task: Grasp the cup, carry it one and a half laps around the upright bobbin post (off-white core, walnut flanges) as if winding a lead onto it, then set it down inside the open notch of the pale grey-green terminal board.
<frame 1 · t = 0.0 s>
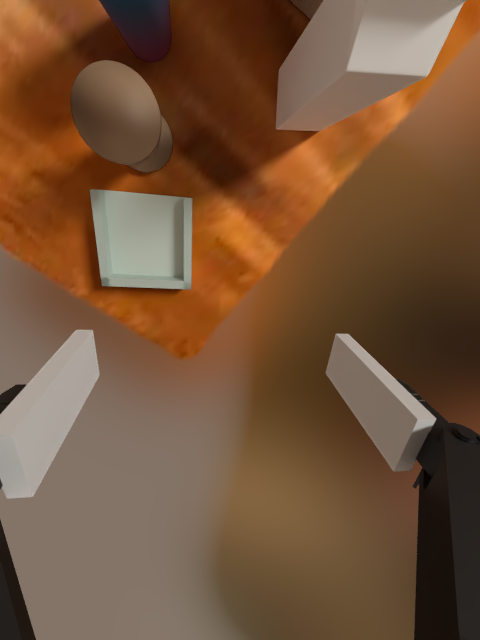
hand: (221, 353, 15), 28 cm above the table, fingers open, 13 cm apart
milk: (299, 102, 34), on the table
notch board: (148, 240, 38), on the table
cup: (147, 33, 30), on the table
bobbin: (143, 139, 34), on the table
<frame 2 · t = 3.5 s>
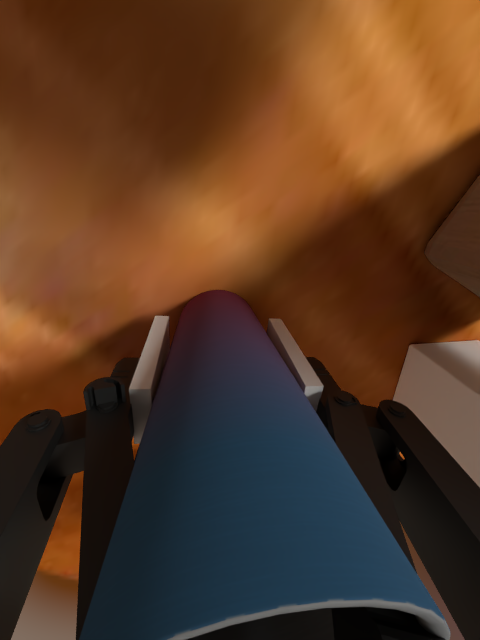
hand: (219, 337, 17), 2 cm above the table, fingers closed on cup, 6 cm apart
milk: (430, 371, 23), on the table
cup: (217, 324, 18), on the table, touching gripper
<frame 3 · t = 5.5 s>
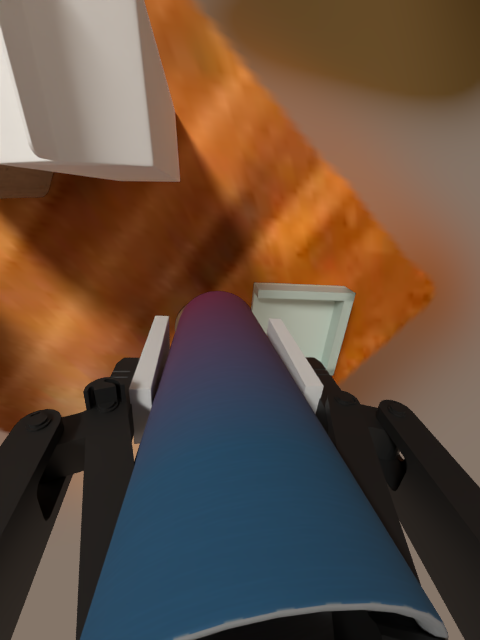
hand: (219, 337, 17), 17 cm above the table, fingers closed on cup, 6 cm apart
milk: (146, 147, 27), on the table
wooden block: (5, 117, 24), on the table
notch board: (292, 326, 37), on the table
cup: (217, 325, 18), point 15 cm above the table, touching gripper
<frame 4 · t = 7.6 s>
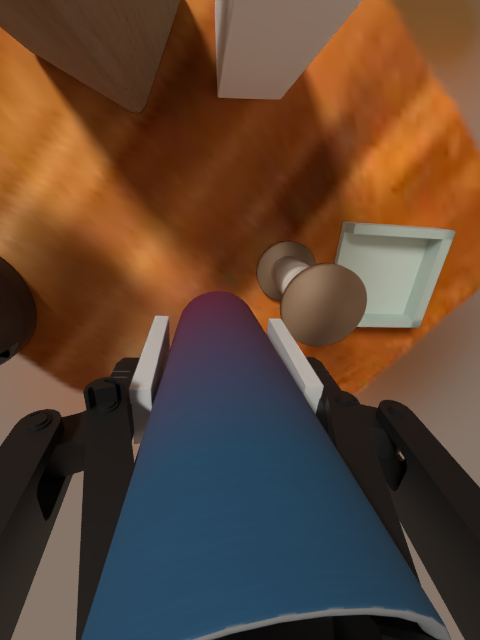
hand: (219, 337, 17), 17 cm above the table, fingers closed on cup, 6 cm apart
milk: (249, 58, 24), on the table
wooden block: (105, 20, 22), on the table
notch board: (376, 274, 35), on the table
cup: (217, 325, 18), point 15 cm above the table, touching gripper
bobbin: (285, 270, 33), on the table
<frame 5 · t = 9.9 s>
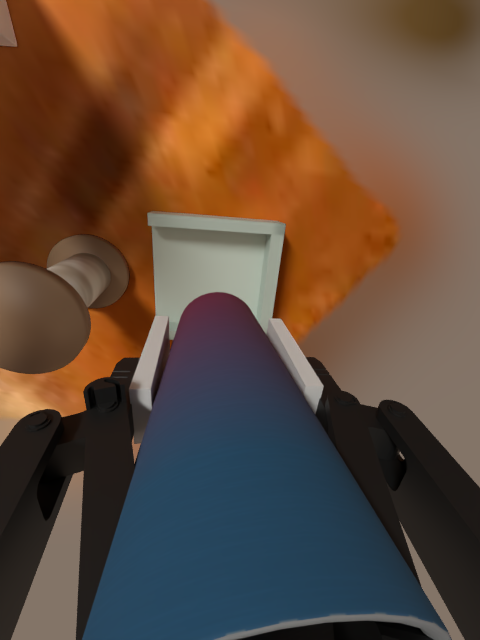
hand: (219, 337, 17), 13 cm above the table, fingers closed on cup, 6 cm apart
notch board: (214, 276, 29), on the table
cup: (217, 326, 18), point 12 cm above the table, touching gripper
bobbin: (91, 271, 27), on the table
when the fingers open (5 cm above the table, at t = 11.6 s): cup drops 2 cm, resting on notch board.
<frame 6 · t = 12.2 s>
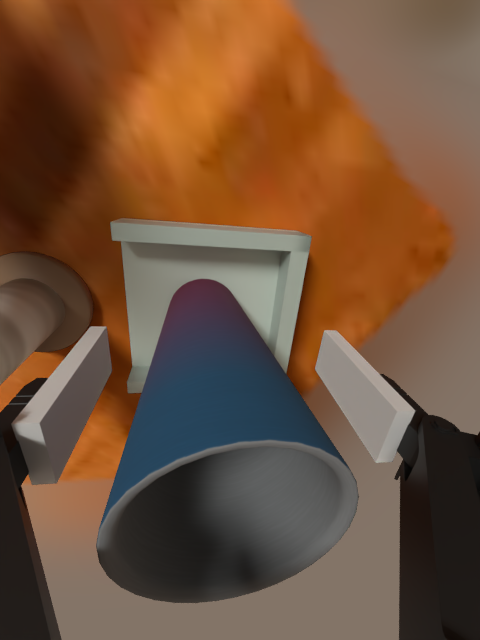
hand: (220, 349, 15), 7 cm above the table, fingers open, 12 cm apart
notch board: (210, 305, 21), on the table
cup: (203, 309, 21), point 1 cm above the table, touching notch board
bobbin: (39, 301, 19), on the table
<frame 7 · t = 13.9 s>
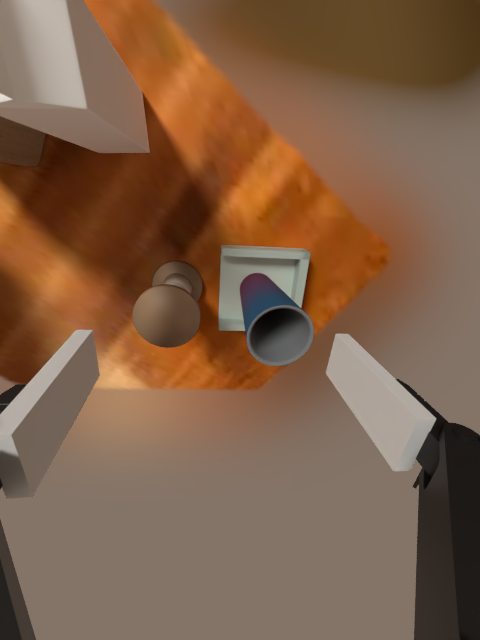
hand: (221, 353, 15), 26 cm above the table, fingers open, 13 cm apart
milk: (120, 123, 31), on the table
wooden block: (3, 100, 30), on the table
notch board: (259, 287, 41), on the table
cup: (256, 288, 41), point 1 cm above the table, touching notch board
bobbin: (178, 284, 40), on the table
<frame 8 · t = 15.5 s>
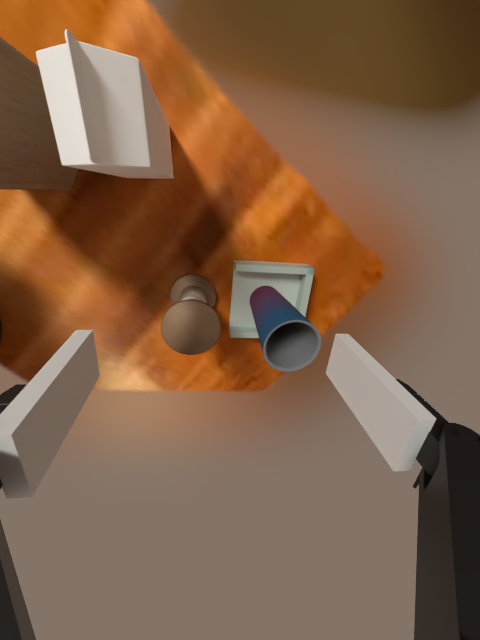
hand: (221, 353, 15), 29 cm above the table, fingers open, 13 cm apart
milk: (148, 152, 35), on the table
wooden block: (43, 130, 33), on the table
notch board: (267, 298, 45), on the table
cup: (264, 299, 45), point 1 cm above the table, touching notch board
bobbin: (193, 295, 43), on the table
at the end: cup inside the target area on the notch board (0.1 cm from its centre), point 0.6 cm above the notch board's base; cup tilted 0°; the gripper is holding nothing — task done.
